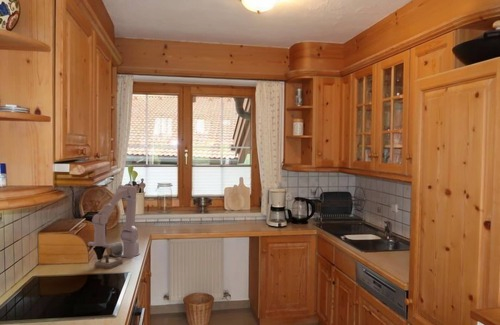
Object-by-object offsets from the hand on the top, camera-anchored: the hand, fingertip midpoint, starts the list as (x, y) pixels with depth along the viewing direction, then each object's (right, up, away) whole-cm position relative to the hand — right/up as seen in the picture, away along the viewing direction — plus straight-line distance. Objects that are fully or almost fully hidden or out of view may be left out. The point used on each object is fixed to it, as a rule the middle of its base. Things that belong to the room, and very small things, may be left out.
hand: (99, 259), depth 214 cm
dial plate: (+4, -4, +2) cm, 6 cm away
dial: (+4, -2, +2) cm, 5 cm away
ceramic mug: (+1, -3, +23) cm, 23 cm away
